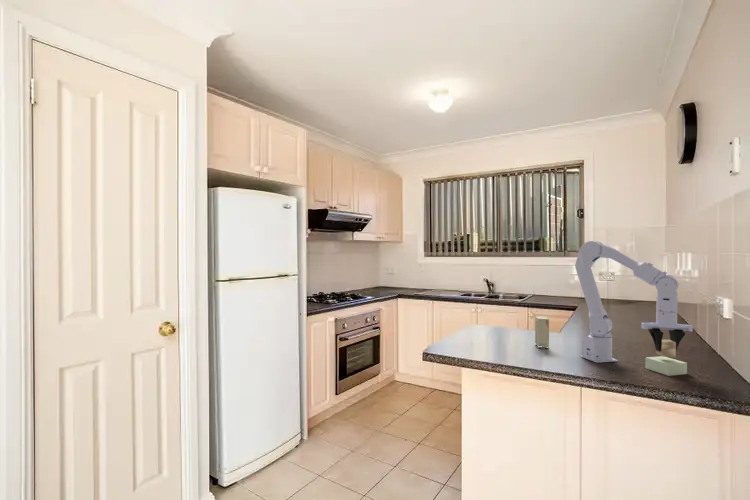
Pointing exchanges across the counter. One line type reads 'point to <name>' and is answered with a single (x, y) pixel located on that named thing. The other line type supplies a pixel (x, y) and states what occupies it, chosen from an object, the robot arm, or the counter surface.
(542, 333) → the skincare box
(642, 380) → the counter surface
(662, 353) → the birch block
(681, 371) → the sage base block
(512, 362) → the counter surface
